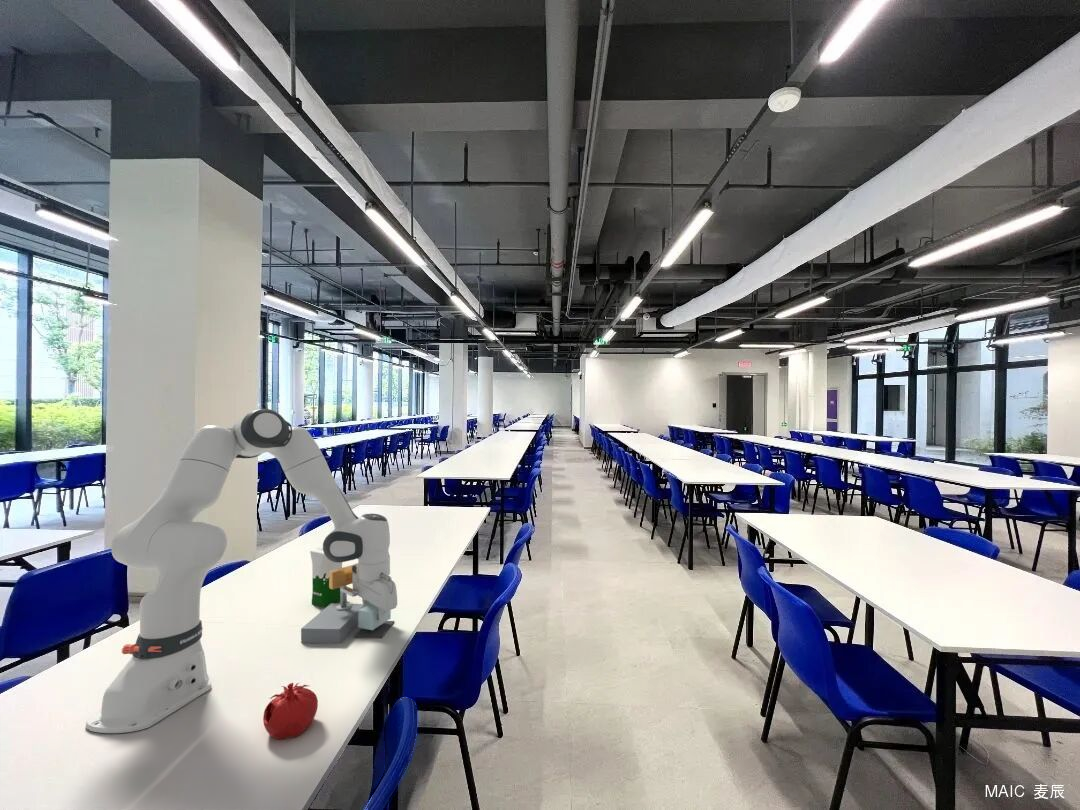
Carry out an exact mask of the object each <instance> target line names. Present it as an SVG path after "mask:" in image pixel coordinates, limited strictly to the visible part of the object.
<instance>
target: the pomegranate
mask: <svg viewBox="0 0 1080 810" xmlns="http://www.w3.org/2000/svg"><path fill="white" fill-rule="evenodd" d="M299 684H300V682H297V683H295V685H294V682H291V683H289V684H287V686H284V685H283V686H282V685H281V688H283V691H282V692H281V693H280V694H274V695H272V696H271V697H269V699H271V701H269V703H268V704H267V705H266V707H265V709H264V712H263V717H262V721H263V726H264V729H265V730H266V733H268V735H269V736H270V737H272V738H273V739H277V740H284V739H285V740H286V739H288V738H295V737H298V736H299V735H301V734H303V732H304V731H306V730H307V729H308V728H309V727H310V726H311V724H313V722H314V719H315V716H316V715H317V712H318V705H319V704H318V700H319V699H318V696H317V695H316V694H315V692H314V691H312V690H311V689H309V688H307V687H309V685H308V684H303V685H299Z"/></svg>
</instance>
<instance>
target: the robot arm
mask: <svg viewBox="0 0 1080 810" xmlns="http://www.w3.org/2000/svg"><path fill="white" fill-rule="evenodd" d="M264 453H269V454H271V455H272V456H273V457H274V458H276V460H277V461H278V462H279V464H280V466H281V469H282V470H283V471H282V472H283V473H284V475H285V476H286V479H287V480H288V482H289V484H290V485H291V486H292V488H293V489H294V490H295V491H296V492H298V493H300V494H303V495H308V496H310V497H314V499H316V500H318V501H319V502H320V503H321V505H322V506H323V508H324V509H325V511H326V512H327V515H328V516H329V517H330V519H331V521H332V524H333V525H334V526H333V527H334V529H333V530H332V531H330V533H328V534H327V536H325V538H324V540H323V543H322V547H323V552H324V554H325V556H326V557H327V558H328V559H329V560H331V561H333V562H338V563H339V562H342V563H346V562H350V561H354V560H358V562H357V563H354V564H352V566H351V571H352V572H353V575H352V589H354V590H356V591H358V595H357V596H358V597H360V598H361V601H362V604H363V605H364V607H365V606H367V605H368V604H370V603H372V604H374V605H375V606H377V607H378V610H380V611H379V614H377V620H378V621H380V622H381V621H384V620H385V614H386V612H387V611H389V610H391V611H392V610H394V609H396V608H397V606H398V593H397V592H398V591H397V585H396V583H395V581H393V580H392V577H391V576H390V574H391V556H390V552H389V548H390V546H391V539H390V538H391V536H390V535H391V534H390V533H391V532H390V524H389V522H388V519H387V518H386V517H385V516H384V515H381V514H377V513H364V514H362V515H361V516H359V517H358V516H357V515H356V514H355V512H354V511H353V509H352V507H351V506H350V505H349V502H348V501H347V499H346V497H345V496H344V494H343V492H342V491H341V488H340V487H339V485H338V484H337V482H336V480H335V478H334V476H333V474H332V472H331V470H330V469H331V468H329V465H328V462H327V461H326V458H325V456H324V454H323V453H322V450H321V449H320V447H319V445H318V444H317V442H316V440H315V439H314V437H313V436H312V434H310V432H309V431H308V430H307V429H306V428H305V427H302V426H292V424H291V423H290V422H289V421H287V420H286V419H285V418H284V417H283V416H282V415H281V414H279V413H278V412H277V411H275V410H273V409H269V408H259V409H255V410H253V411H250V412H248V413H247V414H246V415H245V416H244V417H242V418H240V419H239V420H238V421H236V422H235V423H234V424H233V425H232V426H231V427H224V426H222V425H220V426H219V425H214V424H213V425H211V424H210V425H205V426H202V427H200V428H199V429H198V430H196V431H195V433H194V435H192V437H191V439H190V440H189V442H188V443H187V445H186V446H185V448H184V449H183V451H182V453H181V455H180V456H179V459H178V461H177V463H176V466H175V467H174V470H173V472H172V473H171V476H170V478H169V479H168V481H167V483H166V485H165V487H164V489H163V491H162V492H161V494H160V495H159V496H158V498H156V500H155V501H154V502H153V503H152V505H151V506H150V507H149V508H147V510H146V511H145V512H144V513H142V515H140V516H139V517H138V518H137V519H135V520H134V521H132V522H130V523H128V524H126V525H125V526H123V527H122V528H121V529H119V531H118V532H117V533H116V534H115V535H114V537H113V539H112V541H111V542H112V543H111V547H110V550H111V554H112V557H113V559H114V560H115V561H116V562H118V563H120V564H123V565H125V566H128V567H131V568H134V569H142V570H143V569H145V570H158V573H159V574H158V579H157V581H156V582H157V583H156V586H155V587H154V588H152V589H151V590H150V591H148V592H146V593H145V594H144V596H142V599H141V600H140V603H139V634H138V635H137V638H136V640H135V643H134V644H131V643H126V644H124V645H123V647H122V648H121V654H122V655H132V657H131V658H130V659H129V661H128V662H127V663H126V664H125V665H124V667H123V668H122V669H121V670H120V672H118V674H117V676H116V677H115V678H114V679H113V681H112V682H111V683H110V684H109V686H108V687H107V688H106V689H105V691H104V692H103V693H104V694H103V697H102V703H101V708H100V710H98V711H97V712H96V713H95V714H93V715H92V716H91V717H90V718H89V719H87V721H85V728H86V729H87V730H88V729H89V730H88V731H90V732H95V733H101V734H124V733H125V734H126V733H132V732H137V731H141V730H145V729H148V728H150V727H152V726H154V725H155V724H157V723H158V722H160V721H162V720H163V719H165V718H166V717H168V716H170V715H171V714H173V713H174V712H176V711H178V710H179V709H181V708H182V707H184V706H186V705H187V704H188V703H191V702H192V701H193V700H195V699H197V698H198V697H200V696H202V695H203V694H204V693H207V691H209V690H211V689H212V683H211V681H210V679H209V675H208V670H207V663H206V662H207V661H206V656H205V651H204V648H203V646H202V643H201V638H202V636H203V623H202V620H201V619H200V617H201V616H200V614H201V612H200V610H201V606H200V605H201V593H202V592H201V591H202V587H203V584H204V581H205V578H206V576H207V574H208V573H209V571H210V570H211V569H212V568H213V567H214V566H215V565H217V564H218V563H219V562H220V561H221V560H222V558H223V557H224V555H225V553H226V550H227V547H228V538H227V535H226V532H225V531H224V530H223V529H222V528H221V527H219V526H216V525H213V524H210V523H206V522H202V521H193V520H195V518H196V517H197V516H198V515H199V514H200V513H202V512H203V511H204V510H205V511H206V509H208V508H210V507H212V506H213V505H214V504H215V503H216V502H217V501H219V498H220V496H221V493H222V489H223V487H224V485H225V483H226V481H227V480H226V479H227V477H228V474H229V472H230V469H231V468H232V465H233V462H234V461H235V459H253V458H254V459H255V458H257V457H259V456H261V455H262V454H264Z"/></svg>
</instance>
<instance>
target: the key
mask: <svg viewBox="0 0 1080 810" xmlns="http://www.w3.org/2000/svg"><path fill="white" fill-rule="evenodd" d="M352 565H353V564H352ZM352 565H347V566H344V567H343V566H342V568H340V569H336V570H332V571H329V588H330V589H332V590H333V589H336V588H339V587H340V602H339V604H340V607H341V608H344V607H346V606H347V603H348V596H351V597H352V598H353V597H355V596H356V597H357V596H358V591H356V590H354V589H353V587H352V588H351V587H349V585H351V584H352V585H353V583H352V575H353V572H352V571H351V566H352Z"/></svg>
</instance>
